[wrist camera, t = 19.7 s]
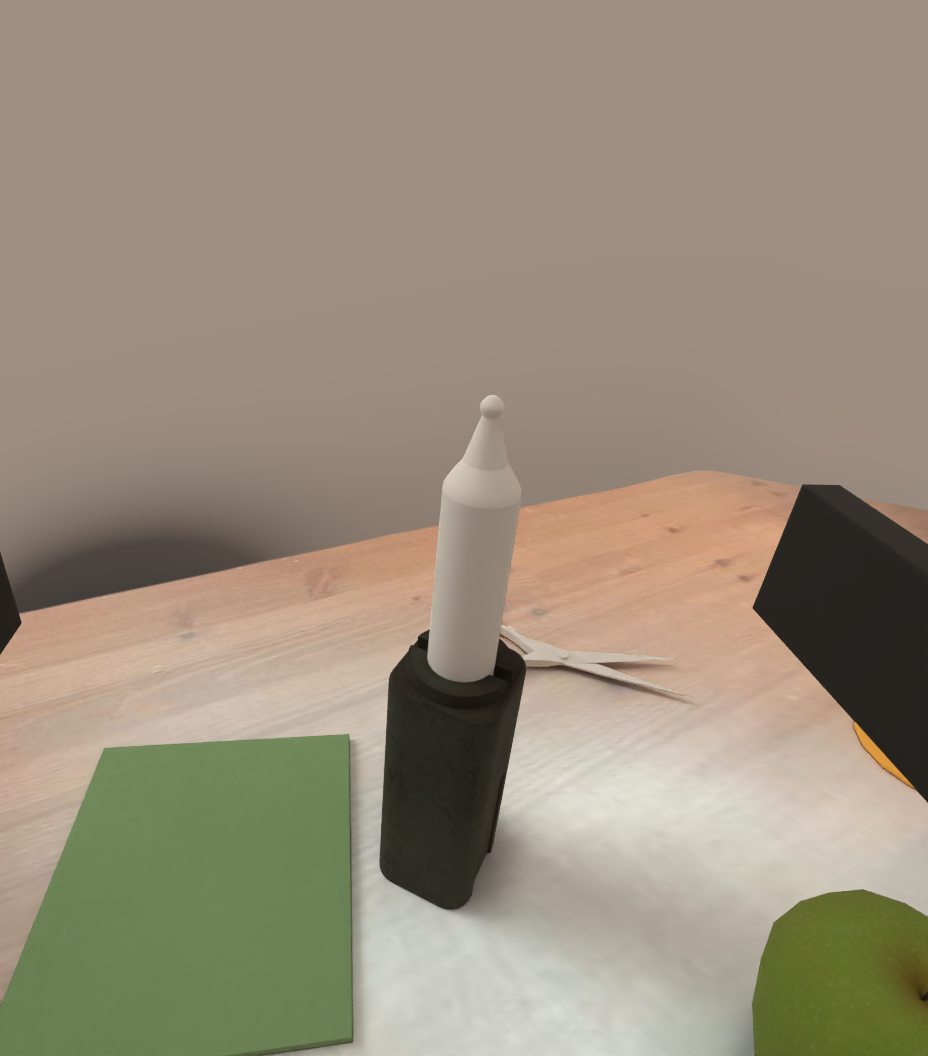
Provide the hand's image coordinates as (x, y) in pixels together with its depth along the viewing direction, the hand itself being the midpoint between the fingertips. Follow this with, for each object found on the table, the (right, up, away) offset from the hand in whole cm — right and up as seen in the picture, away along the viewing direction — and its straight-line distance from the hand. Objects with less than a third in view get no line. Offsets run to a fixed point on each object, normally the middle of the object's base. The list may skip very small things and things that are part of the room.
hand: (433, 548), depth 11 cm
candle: (-1, -17, +23) cm, 29 cm away
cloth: (-12, -17, +21) cm, 30 cm away
